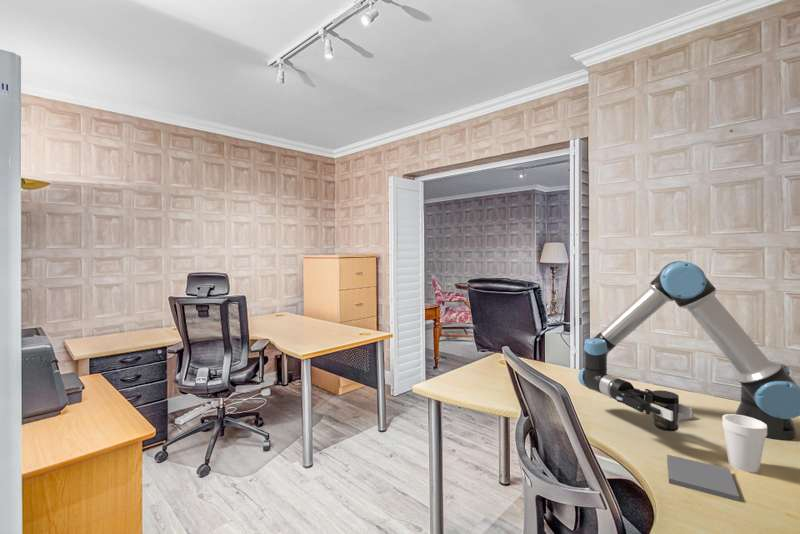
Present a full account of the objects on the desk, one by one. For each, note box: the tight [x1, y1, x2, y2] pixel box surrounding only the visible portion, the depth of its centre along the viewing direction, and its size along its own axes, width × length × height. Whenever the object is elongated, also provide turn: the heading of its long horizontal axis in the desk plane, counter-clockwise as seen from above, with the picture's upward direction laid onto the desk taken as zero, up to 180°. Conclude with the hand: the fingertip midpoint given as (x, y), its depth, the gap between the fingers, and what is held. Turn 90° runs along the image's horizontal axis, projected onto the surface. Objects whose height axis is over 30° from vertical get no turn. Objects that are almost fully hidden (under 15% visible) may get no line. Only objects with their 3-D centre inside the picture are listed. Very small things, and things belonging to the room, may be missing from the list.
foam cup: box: [722, 413, 767, 474], centre depth 107 cm, size 10×9×13 cm
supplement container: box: [652, 389, 680, 433], centre depth 117 cm, size 7×7×10 cm
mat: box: [666, 454, 740, 502], centre depth 102 cm, size 14×14×1 cm
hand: (681, 414), depth 112 cm, fingers closed on supplement container, 7 cm apart
